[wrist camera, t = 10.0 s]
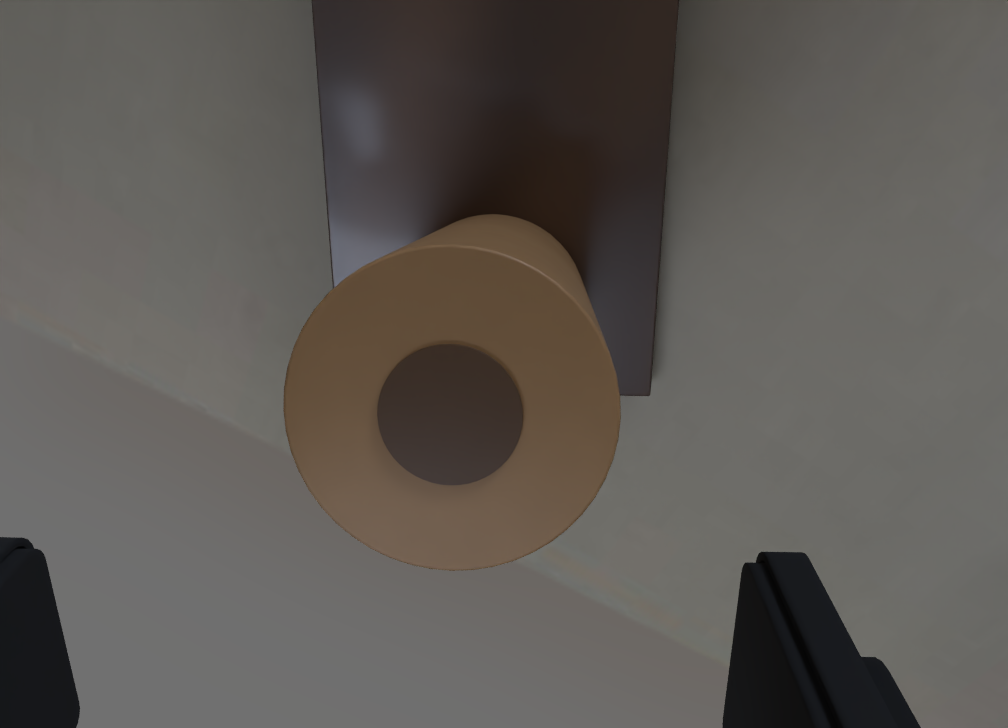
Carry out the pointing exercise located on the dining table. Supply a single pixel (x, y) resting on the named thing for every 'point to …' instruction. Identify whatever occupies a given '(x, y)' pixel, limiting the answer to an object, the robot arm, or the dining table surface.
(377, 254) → the holder
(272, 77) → the dining table surface
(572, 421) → the paper roll
